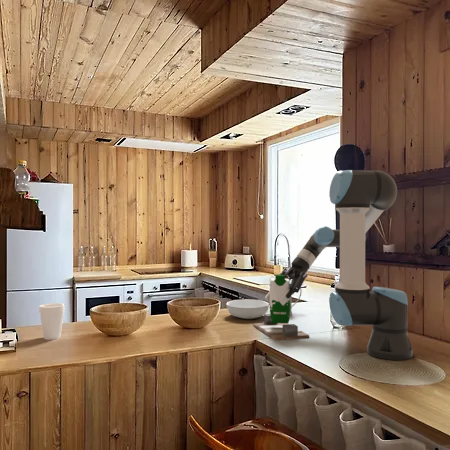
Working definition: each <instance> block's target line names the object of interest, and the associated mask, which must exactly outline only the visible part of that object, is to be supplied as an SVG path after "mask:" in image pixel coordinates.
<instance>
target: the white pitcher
mask: <svg viewBox="0 0 450 450" xmlns="http://www.w3.org/2000/svg"><path fill="white" fill-rule="evenodd" d="M289 284H290V285H291V283H289ZM299 292H300V293H299V296H298V298H297V300H295V302H294V303H293V304H292V301H293V300H292V296H293V295H294V294H295V293H293V294H292V295H291V297H290V316H292V315H293V310H292V308H293V307H294V306H295V305H296V304H297V303H298V302H299V300H300V298H301V296H302V287H301V288H300V290H299Z"/></svg>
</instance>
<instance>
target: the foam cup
mask: <svg viewBox="0 0 450 450" xmlns="http://www.w3.org/2000/svg"><path fill="white" fill-rule="evenodd" d="M65 306H66V305H65V304H64V303H62V302H60V303H59V302H54V303H52V302H51V303H43V304H40V305H39V306H38V307H39V309H38V310H39V311H38V312H39V314H40V323H41V331H42V335H43V340H47V341H49V340H51V341H52V340H58V339H60V338H61V337H62V335H61V334H62V328H63V322H64V321H63V320H64V316H65V315H64V313H65V311H66V310H65V309H66V307H65Z"/></svg>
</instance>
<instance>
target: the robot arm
mask: <svg viewBox="0 0 450 450" xmlns="http://www.w3.org/2000/svg"><path fill="white" fill-rule="evenodd" d="M333 175H334V176H333V177H332V179H331V182H330V186H329V194H328V195H329V201H330V202H331V204H333V205H334V207H335V210H336V211H337V212H338V213H339V229H332V228H331V227H330V226H325V225H324V226H320V227H319V228H318V229H316V230H315V231H314V233H313V234H312V235H311V236H310V237H309V239H308V240H307V241H306V243H305V244H304V246H303V247H302V248H301V250H300V251H299V252H298V253H297V255H296V257H295V258H294V259H293V260H292V261H291V267H290V268H288V269H287V267H284V268H283V270H282V271H281V272H280V273H279V275H285V279H289V281H291V282H290V284H291V285H290V287H289V289H290V290H289V289H288V290H287V291H286V292H285V293H284V295H283V296H282V297H281V299H280V300H279V302H280V303H281V304H282V305H283V306H284V304H285V303H286V302H287V300H288V299H289V298H290V297H291V295H292V294H293V293H294V294H296V293H297V294H298V293H299V292H300V291H301V290H300V288H301V289H302V286H303V285H304V282H305V280H306V278H307V277H308V274H307V272H308V271H309V269H310V268H311V266H312V265H313V264H314V262H315V261H316V260H317V258H318V257H319V256H320V254H321V253H322V251H324V250H325V249H327V248H339V282H338V283H337V284H335V286H334V289H335V291H331V293H329V298H328V299H329V300H328V302H329V309H330V313H331V316H332V318H333V320H334V321H335V323H336V324H337V325H339V326H345V327H346V326H349V327H352V326H372V330H371V334H370V337H369V340H368V343H367V345H366V352H367V354H368V355H370V356H372V357H373V358H379V359H383V360H389V361H390V360H391V361H404V360H409V359H412V358H413V353H414V351H413V347H412V344H411V340H410V338H409V335H408V311H409V310H408V309H409V307H408V306H409V303H408V295H407V293H406V292H405V291H403V290H399V289H395V288H389V287H384V286H382V287H381V286H373V287H372V289H371V290H370V285H368V284H367V283H366V241H367V232H368V231H369V230H370V228H372V226H373V225H374V224H375V222H376V221H378V219H379V217H380V216H381V214H382V213H383V212H384V211H387V210H389V209H390V208H391V207H392V206H393V205H394V203H395V202H396V199H397V196H398V188H397V183H396V181H395V180H394V178H393V177H392V176H391V175H390V174H388V173H386V172H384V171H382V170H362V169H361V170H359V169H346V170H339V171H337V172H336V173H335V174H333ZM294 294H293V295H294ZM293 295H292V296H293ZM264 299H265V300H267V301H266V302H268V303H270V290H269V291H268V293H266V295H265V296H264Z"/></svg>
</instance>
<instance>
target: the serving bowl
mask: <svg viewBox="0 0 450 450" xmlns="http://www.w3.org/2000/svg"><path fill="white" fill-rule="evenodd" d="M225 306H226V309H227V313H229V314H230V315H232V316H233V317H235V318H239V319H242V320H243V319H244V320H254V319H257V318H260V317H264V314H267V312H268V310H269V309H270V302H268V301H265V300H261V299H260V300H259V299H250V298H249V299H247V298H246V299H235V300H230V301H227V302H226V305H225Z"/></svg>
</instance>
